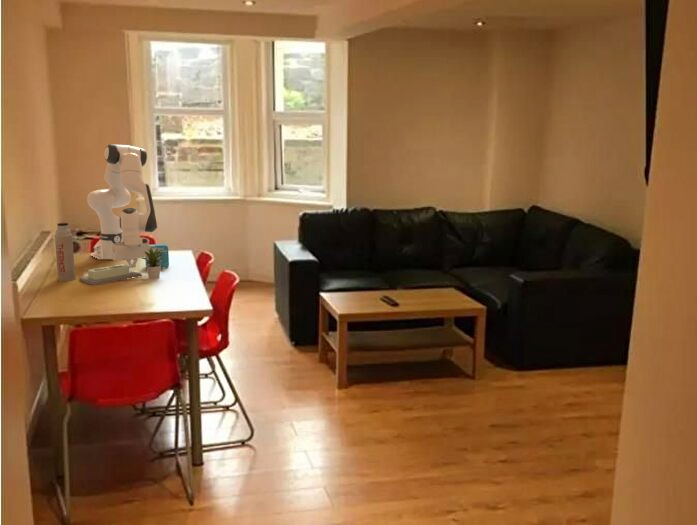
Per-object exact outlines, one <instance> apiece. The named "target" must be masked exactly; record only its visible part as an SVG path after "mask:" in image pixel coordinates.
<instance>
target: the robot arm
mask: <svg viewBox="0 0 697 525" xmlns="http://www.w3.org/2000/svg"><path fill="white" fill-rule="evenodd" d="M103 155H104V159H105V161H106V163H107V164H106V168H105V172H104V174H103V175H104V176H103V177H104V178H103V179H104V182H105V183H106V184H108V186H109V187H108V188H104V189H97V190H94V191H90V192H89V193H88V195H87V198H86V200H87V201H86V202H87V204H88V206H89V208H91V209H92V210H94V211H95V213H96V214H97V216H98V218H99V223H100V233H99V240H98V241H97V242H96V244H95V245H94V246H93V252H92V253H90V256H91V257H92V256H93V257H92V258H94V257H95V259H96V258H97V259H96V260H113V262H122V261H126V263H127V264H128V266H129V269H133V268H136V267H137V265H136V264H137V263H138V260H139V259H141V258H145V257H148V256H147V255H146V254H144V253H145V252H148V253H150V252H149V251H148V250H149V248H150V245H151V244H150V239H149V238H146V237H143V236H141V233H140V232H146V233H153V232H155V231H156V230H157V229H158V227H159V226H158V225H159V221H158V217H157V214H156V211H155V205H154V200H153V196H152V192H151V188H150V185H149V183H148V182H146V181H145V180H144V176H143V168H142V167H144V166H145V165H146V163H147V161H148V159H147V158H148V154H147V151H146V149H144V148H142V147H137V146H134V145H133V146H132V145H128V144H115V143H111V144H110V143H109V144H107V145H106V147H105V149H104V152H103ZM130 192H132V193H135V194H138V195H141V197H142V198H143V199H144V202H145V203H144V204H145V208H146V212H138V210H137V209H136V208H133V207H127V208H123V209H122V210H121V216H120V217H119V216H118V215H116V214H114V211H113V209H116V208H122V207H125V206H127V205H129V204H130V203H131V201H132V195H131V193H130ZM143 250H144V251H145V252H144V251H143ZM132 260H133V261H132Z"/></svg>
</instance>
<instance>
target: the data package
mask: <svg viewBox="0 0 697 525" xmlns="http://www.w3.org/2000/svg"><path fill="white" fill-rule="evenodd" d="M151 246H152V249H153V255H154V252H155V250H156V249H157V248H158V250H157V252H158V251H159V250H160V249H161V248H162V249H161V251H160V252H161V253H160V254H159V255H161V254H164V255H162V256H160V257H158V259H159V258H160V259H162V258H163V257H164V258H163V260H162V262H161V261H158V262H159V263H158V264H159V265H161V268H160V269H163V268H168V267H169V266H170V260H169V256H170V255H169V253H170V252H169V246H168V245H167V244H166V243H162V244H159V243H157V244H150V248H151ZM158 246H159V247H158ZM164 250H165V251H164ZM162 251H163V253H162ZM166 253H168V254H166ZM144 258H146V259H147V260H149V259H148V257H144ZM158 259H157V260H158ZM144 260H145V259H144ZM149 261H150V260H149ZM147 265H150V264H149V263H146V260H145V267H146V266H147Z"/></svg>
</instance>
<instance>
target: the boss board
mask: <svg viewBox="0 0 697 525" xmlns="http://www.w3.org/2000/svg"><path fill="white" fill-rule="evenodd" d="M138 276H142V277H143V275H142V273H141V272H138V271H134V270H131V269H129V274H126V275H120V276H115V277H109V278H103V279H98V280H94V279H91V278H88V275H86V276H81V277H80V276H79V277H78V279H79V281H80V282H83V283H85V284H89V285H92V286H97V285H102V283H103V284H107V283H108V282H109V283H113V281H114V282H118V281H117V280H120V281H123V280H122V279H125V280H128V279H127V278H131V279H133V278H132V277H136V278H139V277H138Z"/></svg>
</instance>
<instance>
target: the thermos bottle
mask: <svg viewBox="0 0 697 525" xmlns="http://www.w3.org/2000/svg"><path fill="white" fill-rule="evenodd" d="M54 241H55V243H54V245H55V255H56V267H57V279H58V281H61V282H70V281H74V280H76V269H75V268H76V267H75V255H74V254H75V253H74V242H73V241H74V240H73V234H72V232H71V229H70V228H69V223H68V222H60V223H57V229H56V230H55V234H54Z"/></svg>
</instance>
